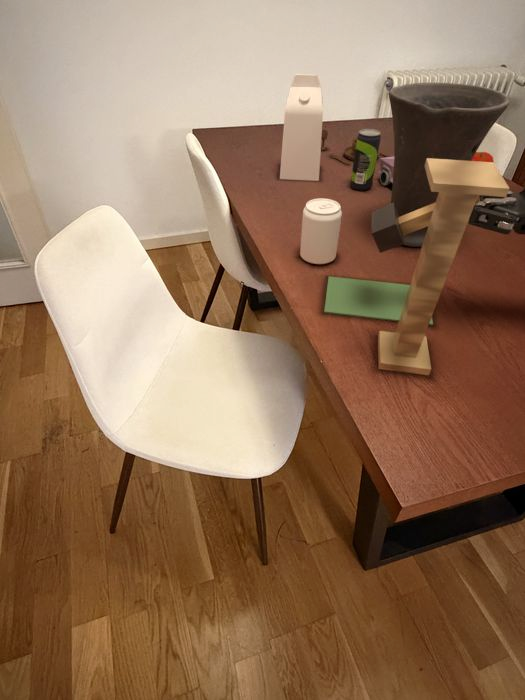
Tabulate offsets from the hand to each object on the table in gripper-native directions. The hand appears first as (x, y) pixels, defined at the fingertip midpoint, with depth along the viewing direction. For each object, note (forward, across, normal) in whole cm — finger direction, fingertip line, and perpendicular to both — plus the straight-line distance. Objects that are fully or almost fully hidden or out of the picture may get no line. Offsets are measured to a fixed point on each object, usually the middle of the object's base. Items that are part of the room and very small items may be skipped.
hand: (438, 203), depth 64 cm
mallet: (+1, 0, +4) cm, 4 cm away
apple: (-21, -58, +21) cm, 66 cm away
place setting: (+13, -84, +21) cm, 88 cm away
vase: (-2, -28, +21) cm, 35 cm away
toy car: (-7, -54, +21) cm, 59 cm away
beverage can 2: (+10, -55, +21) cm, 60 cm away
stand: (+2, +15, +20) cm, 25 cm away
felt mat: (+6, 0, +20) cm, 21 cm away
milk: (+29, -63, +21) cm, 73 cm away
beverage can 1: (+19, -14, +21) cm, 31 cm away
